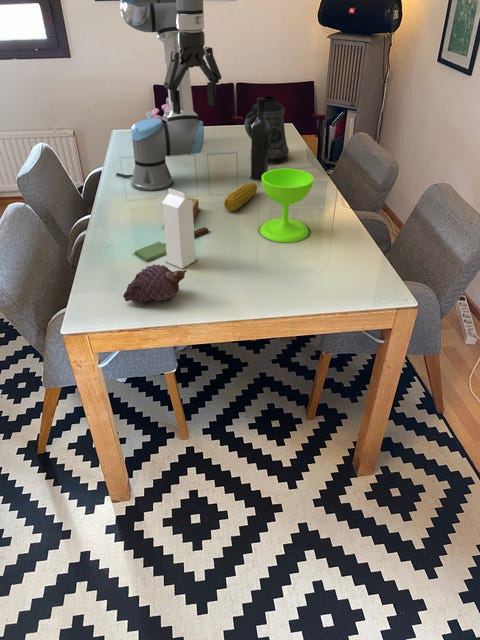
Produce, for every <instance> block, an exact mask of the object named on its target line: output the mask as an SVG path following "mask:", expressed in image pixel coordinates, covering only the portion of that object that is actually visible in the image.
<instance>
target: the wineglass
mask: <svg viewBox="0 0 480 640" xmlns="http://www.w3.org/2000/svg"><path fill="white" fill-rule="evenodd" d="M261 179H262V180H261V186H262V188H263V191H264V193H265V194H266V195H267V196H268V197H269V199H271V200H272V201H273V202H276V203H278V204H280V205H282V212H281V215H282V216H281V218H273V219H270V220H268V221H266V222H264V223H263V224H262V225H261V226H260V228H259V233H260V235H261V236H262V237H263V238H264V239H267V240H269V241H271V242H272V241H273V242H277V243H296V242H299V241H302V240H304V239H306V238H307V237H308V236H309V234H310V231H309V228H308V226H307V225H306V224H304V222H302V221H299V220H297V219H293V218H289V207H290V205H294V204H296V203H298V202H300V201H302V200H304V198H306V196H308V195H309V193H310V191H311V189H312V187H313V183H314V176H313V175H312V174H311V173H309V172H308V171H306V170H301V169H296V168H288V167H287V168H286V167H285V168H274V169H271V170H268V171H267V172H265V173H264V174H263V175H262V177H261Z"/></svg>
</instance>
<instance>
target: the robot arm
mask: <svg viewBox="0 0 480 640" xmlns="http://www.w3.org/2000/svg"><path fill="white" fill-rule="evenodd" d="M120 14H121V17H122V19H123V21H124V22H125V23H126V24H127V25H128V26H129V27H131V28H133V29H135V30H136V31H139V32H143V33H156V34H157V39H158V40H159V41H160V42H161V43H162V48H163V57H164V58H163V59H164V67H165V77H164V83H163V88H164V89H167V92H168V93H167V94H168V97H169V103H170V115H169V116H168V117H167V122H163V120H161V119H154V118H152V119H147V118H144V119H145V120H143V119H141V120H139V121H137V122H136V123H134V124H133V125H132V126H131V128H130V130H131V131H130V132H131V141H132V148H133V149H132V150H133V160H134V168H133V173H132V174H124V173H120V172H116V173H115V175H116V176H119V177H122V178H132V179H131V182H132V186H133V187H134V189H137V190H141V191H151V192H152V191H160V190H164V189H166V188H168V187H170V186H171V185H172V184H173V177H172V175H171V172H170V170H169V167H168V164H167V161H166V157H172V156H185V155H187V156H188V155H189V156H191V155H195V154H197V155H198V154H199V153H201V152H202V150H203V146H204V139H205V138H204V136H205V127H204V122H203V121H202V120H199V115H198V114H197V113H196V112H195V111H194V103H193V102H194V101H193V92H192V82H191V74H190V72H191V71H190V68H191V69H192V68H194V67H197V68H198V67H199V69H200V70H201V71H202V73H203V74H204V76H205V77H206V78H207V80H208V81H207V82H206V87H207V88H206V89H207V105H208V106H211V107H216V94H217V84H219V82H220V81H221V80H222V78H223V77H222V75H221V72H220V70H219V67H218V64H217V61H216V59H215V56H214V50H213V47H210V46H205V45H206V44H205V43H206V41H205V40H206V39H205V38H206V37H205V32H204V31H203V30H204V29H205V16H204V0H120ZM204 57H205V58H204ZM205 59H206V60H205Z"/></svg>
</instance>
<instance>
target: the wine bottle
mask: <svg viewBox="0 0 480 640" xmlns="http://www.w3.org/2000/svg"><path fill="white" fill-rule="evenodd" d="M256 104H257V118H255V119H254V121H253V123H252V124H251V128H252V139H251V145H250V146H251V148H250V155H251V157H250V178H251V180H256V181H262V179H261V177H262V175H263V174H264V173H265V172H267V171H269V164H268V148H269V124H268V122H267V121H266V120H265V118H264V116H265V98H264V97H257V98H256Z"/></svg>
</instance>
